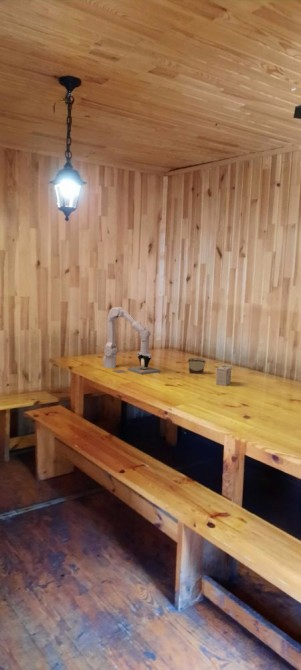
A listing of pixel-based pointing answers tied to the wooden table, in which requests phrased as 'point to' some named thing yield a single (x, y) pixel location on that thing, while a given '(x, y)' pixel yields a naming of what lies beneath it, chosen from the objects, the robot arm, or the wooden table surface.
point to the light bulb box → (223, 375)
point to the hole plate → (144, 370)
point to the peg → (142, 364)
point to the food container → (196, 365)
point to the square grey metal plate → (120, 371)
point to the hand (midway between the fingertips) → (144, 366)
